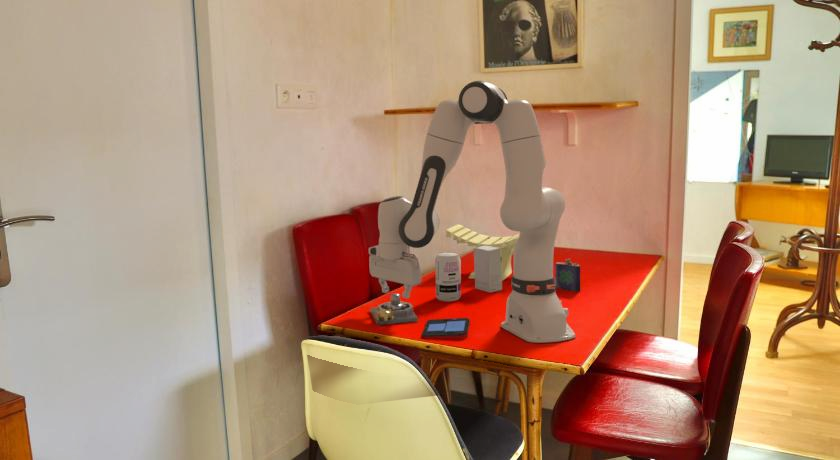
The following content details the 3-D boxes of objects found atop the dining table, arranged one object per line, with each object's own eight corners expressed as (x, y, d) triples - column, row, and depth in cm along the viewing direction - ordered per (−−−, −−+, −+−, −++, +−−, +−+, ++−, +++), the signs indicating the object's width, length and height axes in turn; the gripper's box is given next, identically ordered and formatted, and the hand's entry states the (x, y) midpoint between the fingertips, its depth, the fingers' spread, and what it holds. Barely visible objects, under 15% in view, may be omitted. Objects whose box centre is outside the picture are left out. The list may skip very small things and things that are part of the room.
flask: (553, 288, 225) (554, 257, 223) (557, 286, 227) (558, 256, 225) (578, 292, 219) (579, 261, 217) (582, 290, 221) (582, 259, 220)
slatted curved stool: (535, 272, 247) (536, 226, 244) (525, 282, 233) (525, 233, 230) (460, 267, 259) (460, 222, 256) (446, 276, 245) (446, 229, 242)
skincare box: (502, 290, 224) (502, 248, 221) (488, 293, 220) (488, 250, 218) (486, 285, 230) (486, 244, 228) (473, 288, 227) (473, 246, 225)
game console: (427, 323, 192) (427, 316, 191) (470, 324, 190) (470, 317, 189) (420, 340, 177) (420, 332, 177) (467, 341, 176) (467, 333, 175)
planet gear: (409, 312, 197) (408, 296, 196) (386, 314, 195) (385, 298, 194) (404, 306, 203) (404, 290, 202) (382, 308, 202) (382, 292, 201)
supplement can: (447, 293, 221) (447, 250, 218) (465, 298, 215) (465, 253, 213) (430, 298, 215) (430, 254, 213) (449, 303, 210) (448, 257, 207)
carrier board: (418, 321, 192) (418, 311, 191) (377, 325, 189) (377, 314, 189) (408, 308, 205) (408, 298, 205) (370, 311, 203) (369, 301, 202)
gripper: (425, 253, 190) (426, 299, 193) (380, 244, 205) (382, 287, 207) (409, 256, 186) (411, 303, 188) (364, 248, 201) (366, 291, 203)
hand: (395, 295), depth 198 cm, fingers open, 8 cm apart
